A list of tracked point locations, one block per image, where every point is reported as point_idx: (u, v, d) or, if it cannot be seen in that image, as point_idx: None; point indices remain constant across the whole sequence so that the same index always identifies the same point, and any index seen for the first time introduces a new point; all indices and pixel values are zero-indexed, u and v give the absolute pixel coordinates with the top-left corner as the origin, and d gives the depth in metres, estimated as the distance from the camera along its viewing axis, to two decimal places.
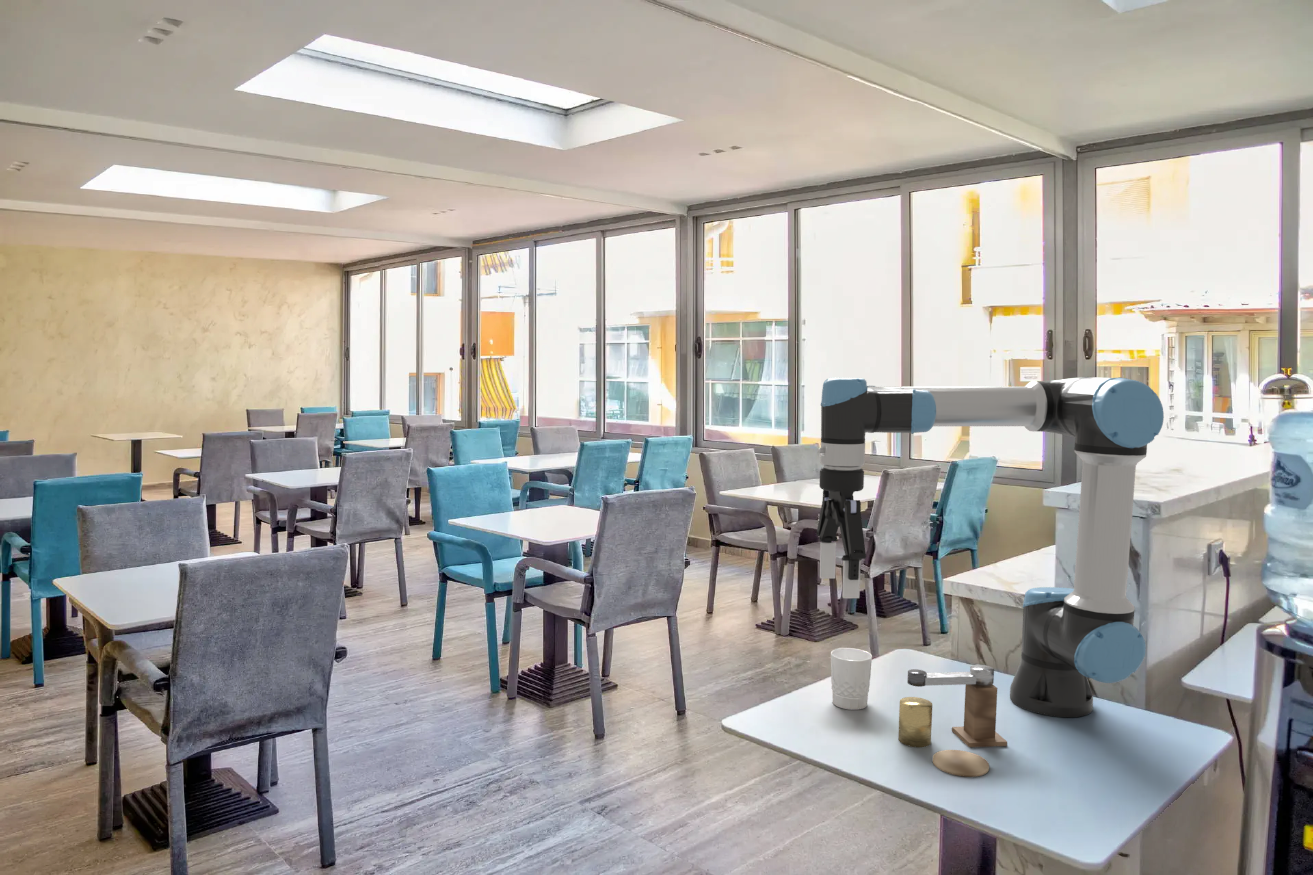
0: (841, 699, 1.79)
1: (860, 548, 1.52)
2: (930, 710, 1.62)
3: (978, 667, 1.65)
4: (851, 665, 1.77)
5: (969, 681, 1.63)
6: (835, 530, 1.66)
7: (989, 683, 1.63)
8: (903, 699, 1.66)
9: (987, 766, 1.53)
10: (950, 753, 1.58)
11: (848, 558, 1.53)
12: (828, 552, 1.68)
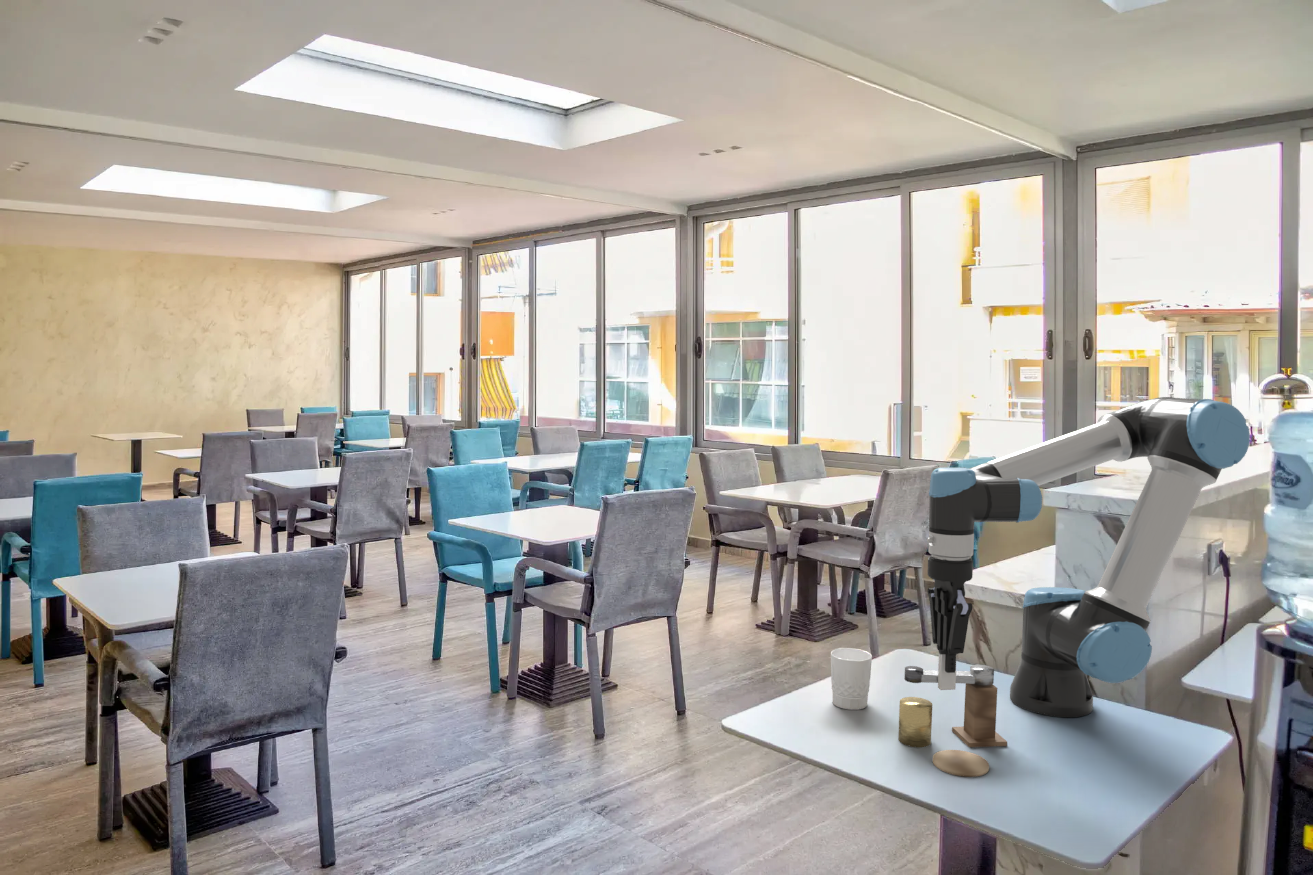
0: (841, 699, 1.79)
1: (960, 646, 1.59)
2: (930, 710, 1.62)
3: (978, 667, 1.65)
4: (850, 665, 1.77)
5: (967, 681, 1.64)
6: None
7: (988, 683, 1.63)
8: (903, 699, 1.66)
9: (987, 766, 1.53)
10: (950, 753, 1.58)
11: (945, 654, 1.61)
12: None
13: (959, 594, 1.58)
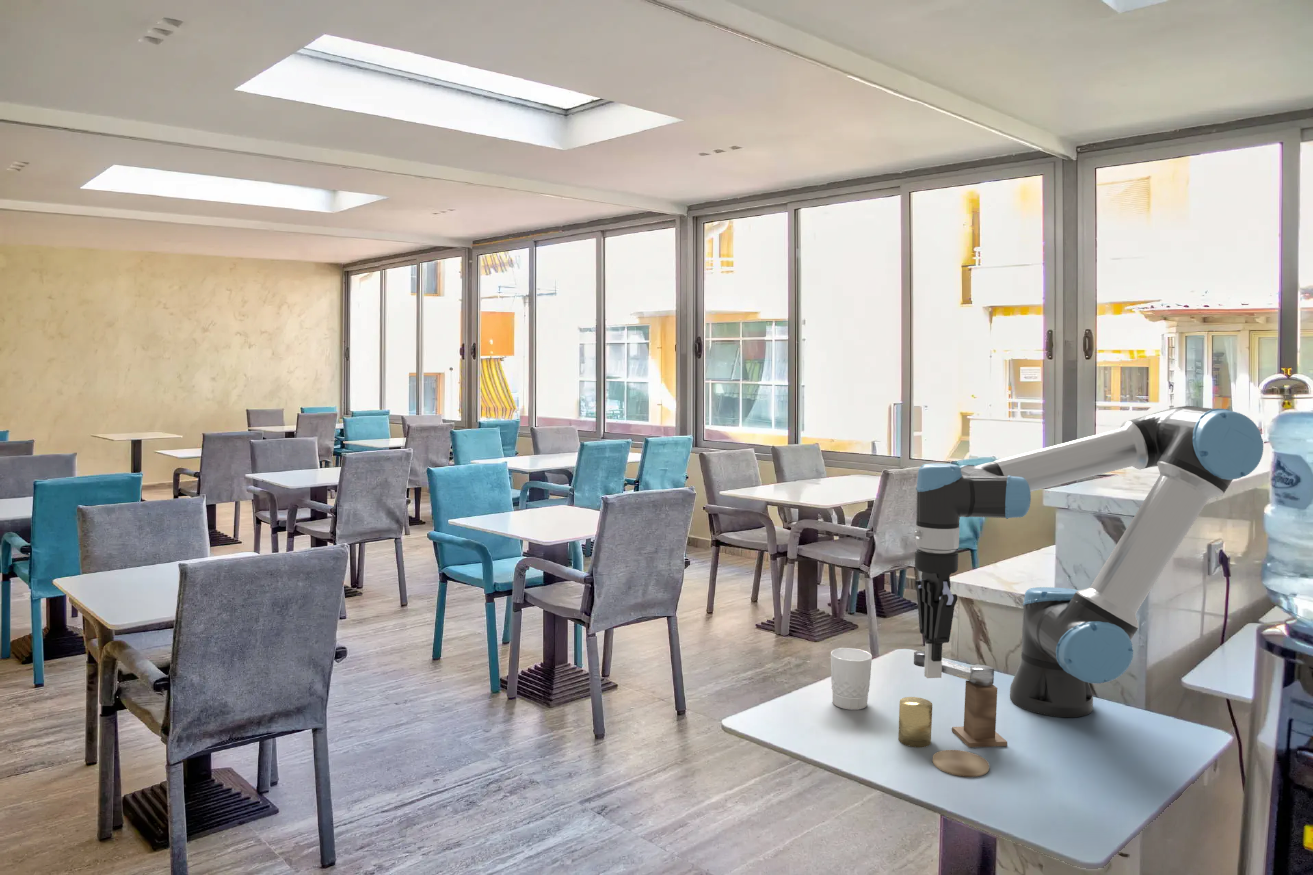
0: (841, 699, 1.79)
1: (945, 636, 1.65)
2: (930, 710, 1.62)
3: (981, 667, 1.65)
4: (850, 665, 1.77)
5: (963, 676, 1.66)
6: None
7: (978, 683, 1.63)
8: (903, 699, 1.66)
9: (987, 766, 1.53)
10: (950, 753, 1.58)
11: (931, 643, 1.67)
12: None
13: (945, 585, 1.64)
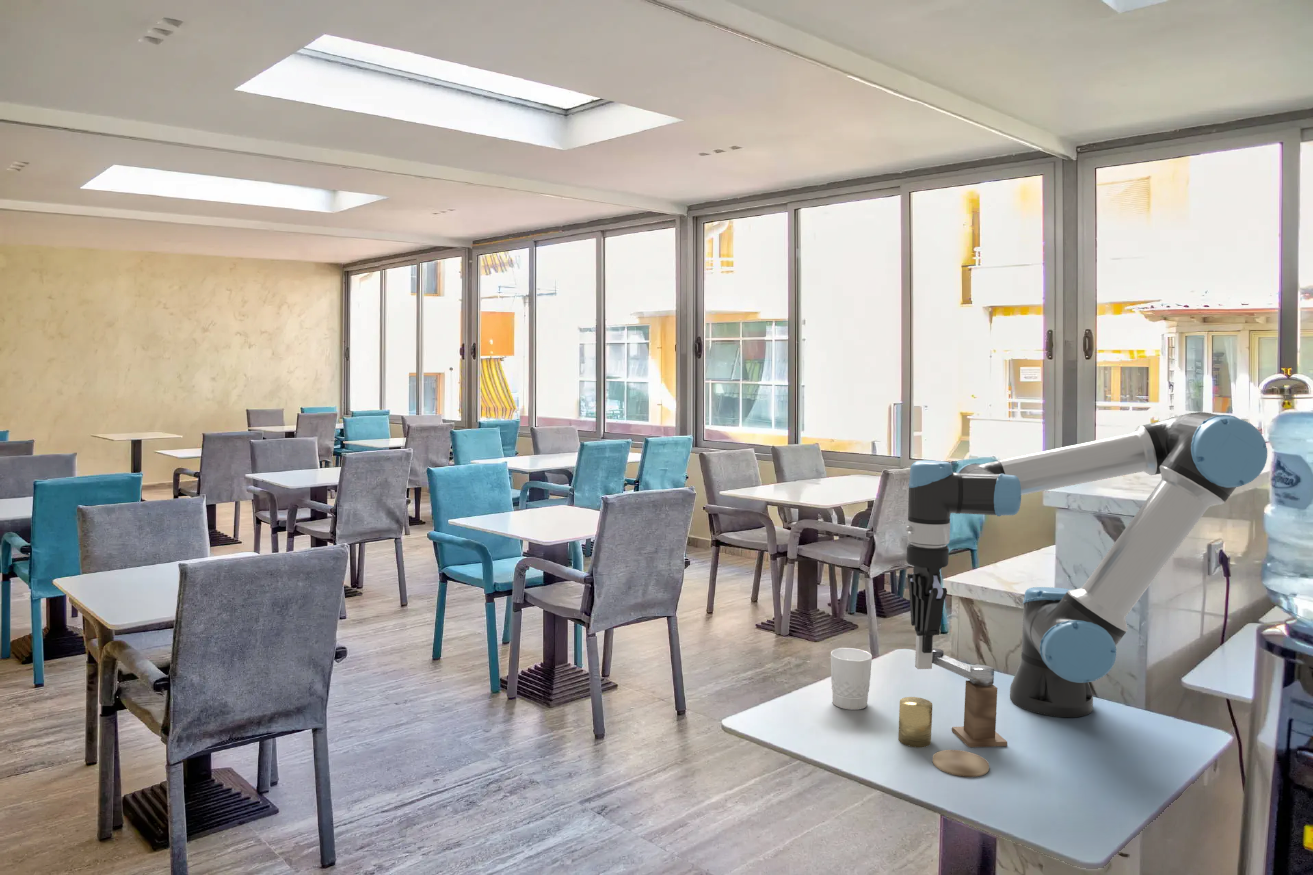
0: (841, 699, 1.79)
1: (935, 628, 1.69)
2: (930, 710, 1.62)
3: (982, 667, 1.65)
4: (850, 665, 1.77)
5: (964, 674, 1.67)
6: None
7: (975, 682, 1.64)
8: (903, 699, 1.66)
9: (987, 766, 1.53)
10: (950, 753, 1.58)
11: (922, 635, 1.72)
12: None
13: (935, 579, 1.69)
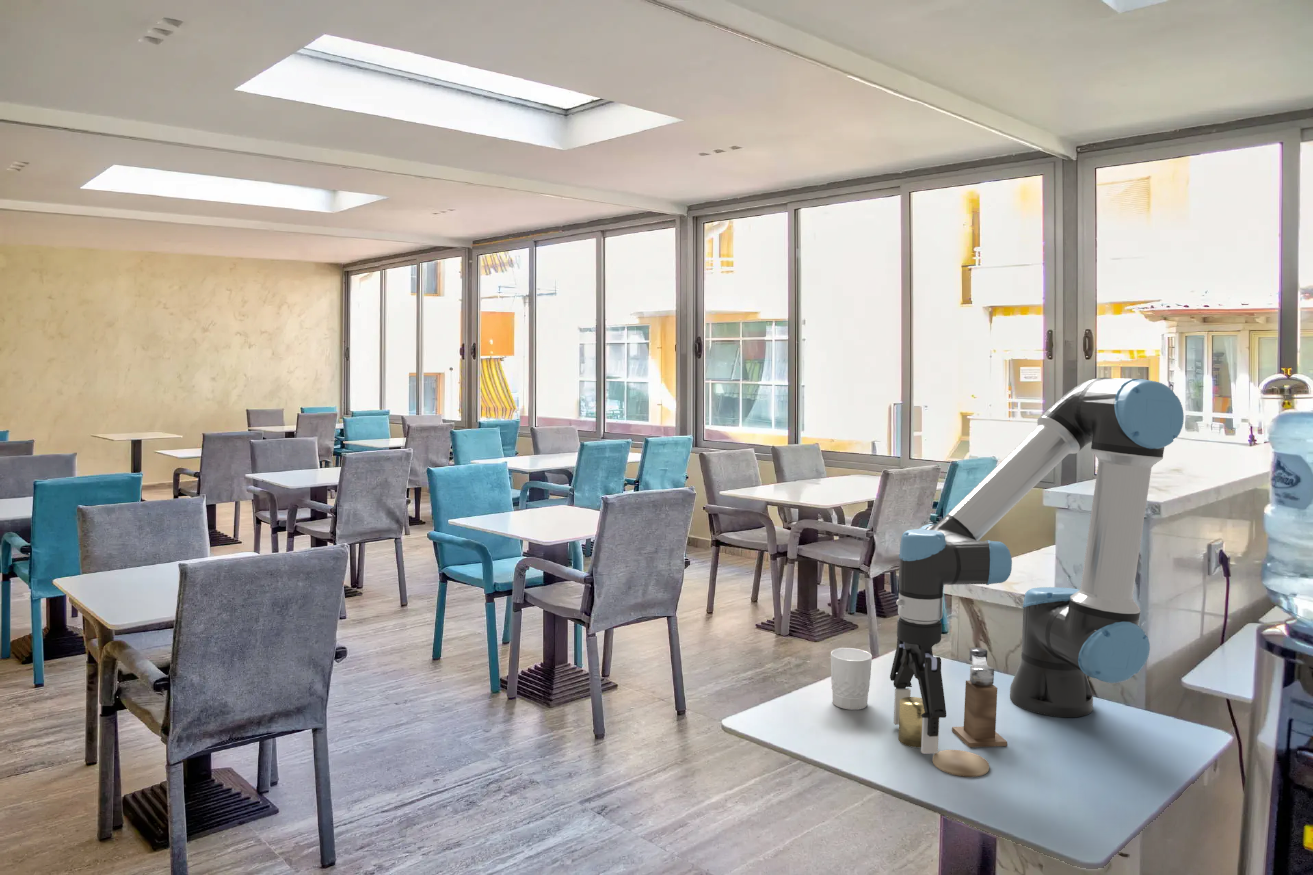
0: (841, 699, 1.79)
1: (941, 707, 1.54)
2: None
3: (985, 668, 1.65)
4: (850, 665, 1.77)
5: None
6: (910, 677, 1.69)
7: (970, 679, 1.65)
8: (903, 699, 1.66)
9: (987, 766, 1.53)
10: (950, 753, 1.58)
11: (928, 716, 1.56)
12: None
13: (926, 654, 1.59)
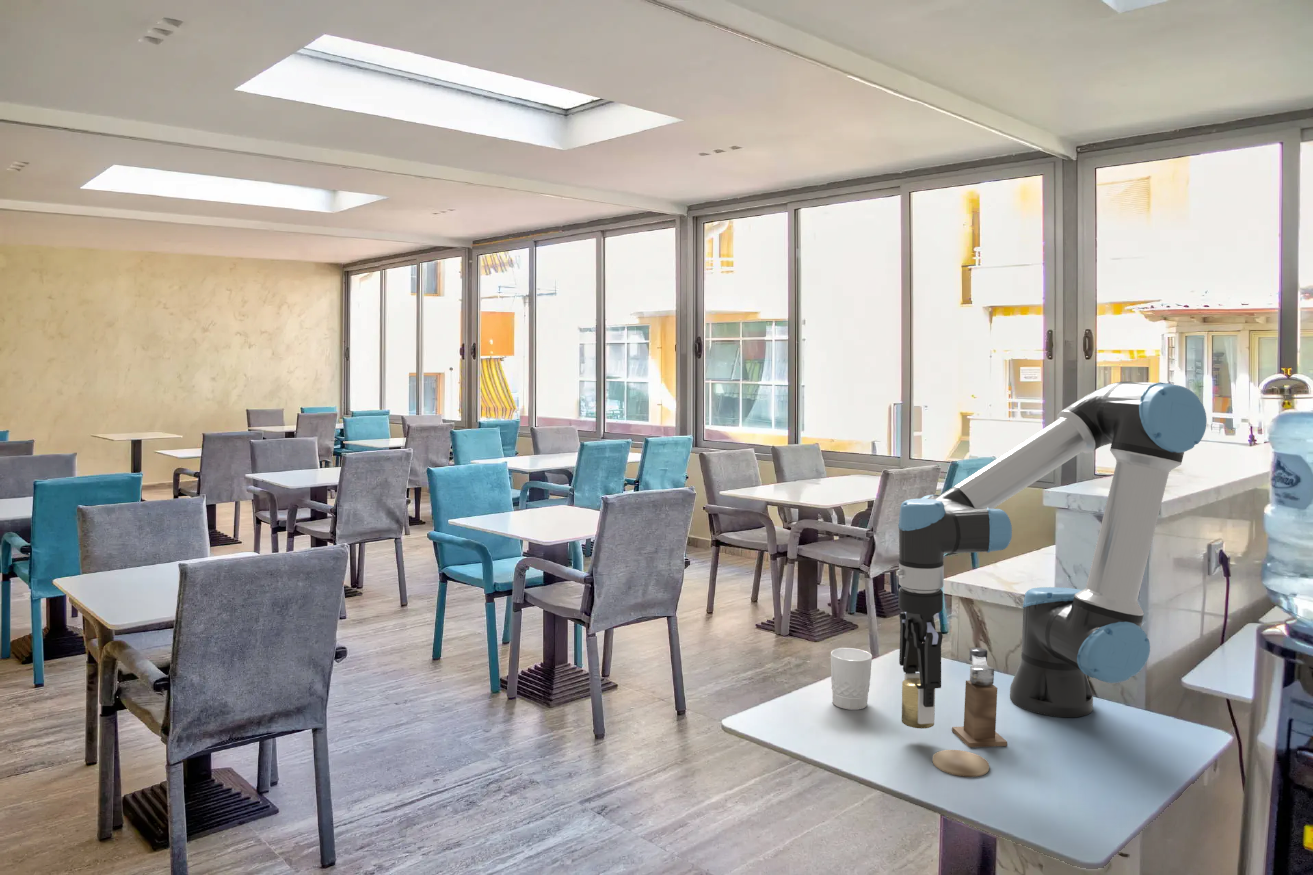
0: (841, 699, 1.79)
1: (936, 680, 1.57)
2: None
3: (985, 668, 1.65)
4: (851, 665, 1.77)
5: None
6: (918, 656, 1.66)
7: (970, 679, 1.65)
8: (906, 680, 1.65)
9: (987, 766, 1.53)
10: (950, 753, 1.58)
11: (923, 688, 1.59)
12: None
13: (929, 625, 1.59)
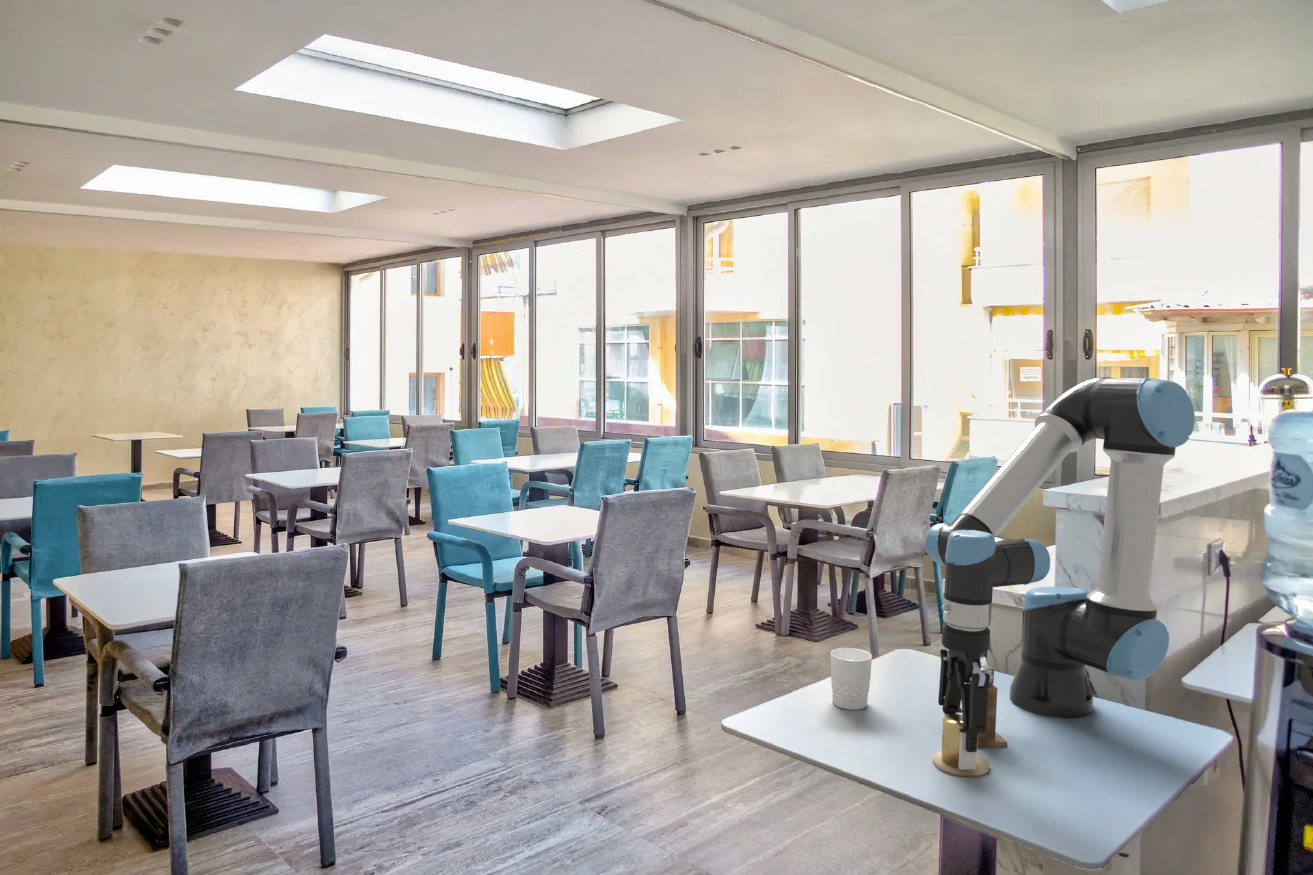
0: (841, 699, 1.79)
1: (982, 724, 1.48)
2: None
3: (985, 668, 1.65)
4: (850, 665, 1.77)
5: None
6: (960, 697, 1.57)
7: None
8: (946, 717, 1.56)
9: (987, 766, 1.53)
10: None
11: (966, 731, 1.50)
12: None
13: (975, 665, 1.50)
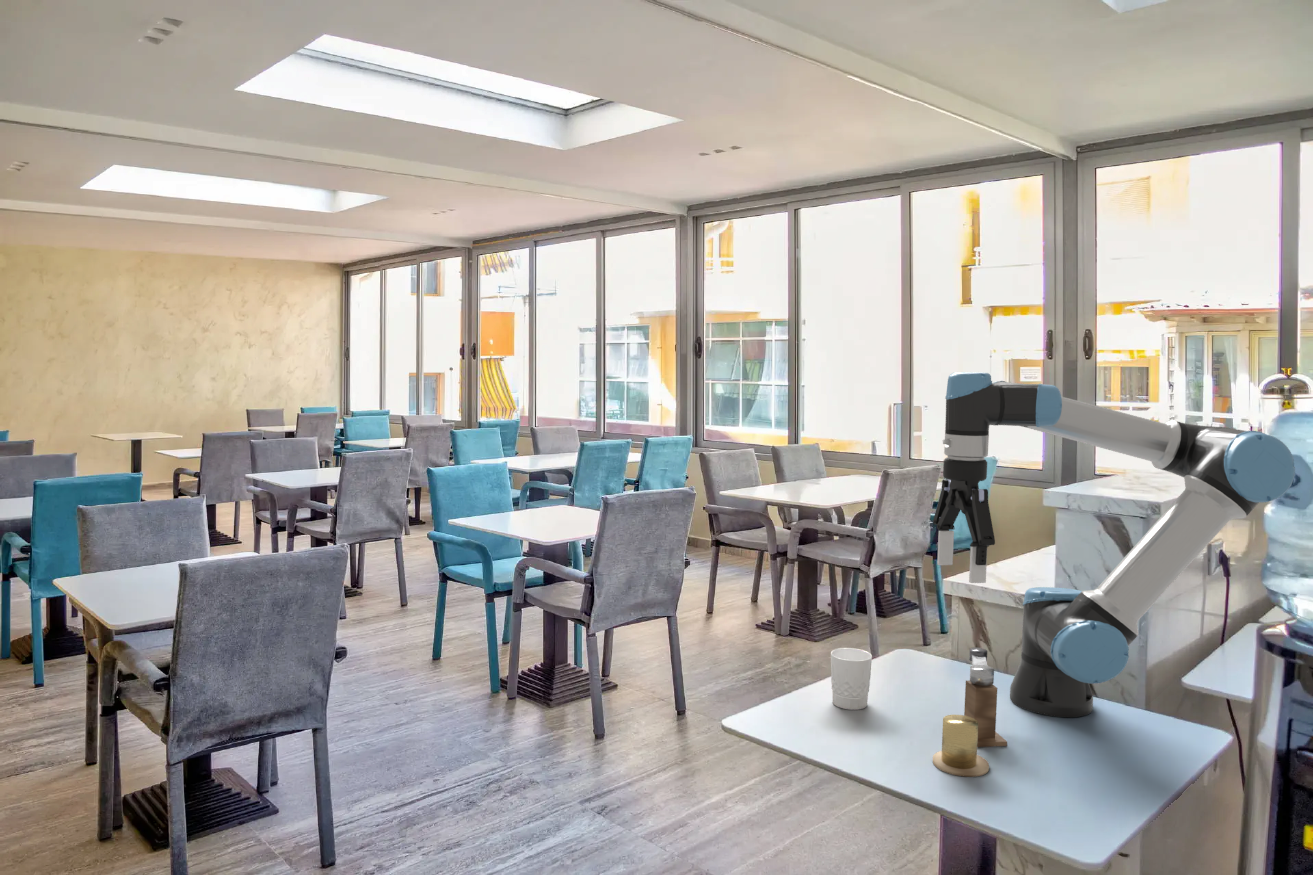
0: (841, 699, 1.79)
1: (989, 535, 1.59)
2: (976, 729, 1.53)
3: (985, 668, 1.65)
4: (851, 665, 1.77)
5: None
6: (954, 519, 1.74)
7: (970, 679, 1.65)
8: (946, 717, 1.56)
9: (987, 766, 1.53)
10: None
11: (977, 544, 1.60)
12: (946, 540, 1.75)
13: (973, 489, 1.64)
